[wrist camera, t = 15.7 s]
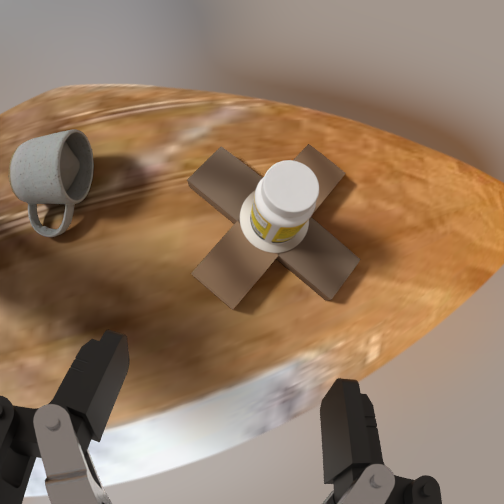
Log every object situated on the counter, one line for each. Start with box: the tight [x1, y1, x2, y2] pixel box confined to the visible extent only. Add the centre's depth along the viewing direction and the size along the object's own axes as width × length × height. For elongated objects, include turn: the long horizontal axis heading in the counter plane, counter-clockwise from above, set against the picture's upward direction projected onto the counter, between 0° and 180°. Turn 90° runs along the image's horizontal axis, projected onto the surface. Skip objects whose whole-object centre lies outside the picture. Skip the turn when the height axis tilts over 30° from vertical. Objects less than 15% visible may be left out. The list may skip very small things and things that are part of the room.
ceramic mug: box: [9, 130, 94, 237], centre depth 27 cm, size 11×8×8 cm
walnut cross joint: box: [187, 144, 360, 310], centre depth 30 cm, size 18×18×2 cm
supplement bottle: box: [250, 160, 319, 244], centre depth 25 cm, size 5×5×8 cm
